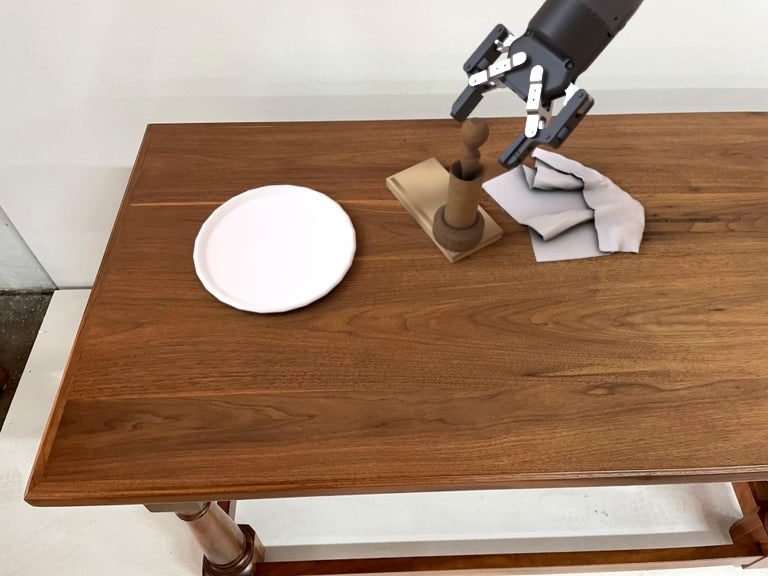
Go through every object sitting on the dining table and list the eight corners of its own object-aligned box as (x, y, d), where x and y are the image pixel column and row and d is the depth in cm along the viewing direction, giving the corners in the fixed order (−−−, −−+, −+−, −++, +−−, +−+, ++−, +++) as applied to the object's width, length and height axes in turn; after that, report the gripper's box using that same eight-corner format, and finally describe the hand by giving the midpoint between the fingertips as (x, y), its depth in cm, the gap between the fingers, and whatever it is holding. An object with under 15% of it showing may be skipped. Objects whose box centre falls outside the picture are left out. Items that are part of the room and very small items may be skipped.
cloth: (659, 264, 77) (666, 252, 75) (487, 261, 77) (490, 249, 75) (626, 152, 88) (632, 139, 86) (476, 150, 88) (479, 137, 86)
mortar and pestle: (421, 229, 78) (432, 118, 63) (456, 205, 80) (475, 93, 65) (457, 261, 75) (478, 152, 60) (493, 234, 77) (521, 124, 63)
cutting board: (501, 237, 79) (503, 230, 78) (451, 263, 77) (453, 256, 75) (433, 164, 87) (433, 156, 85) (385, 185, 84) (385, 177, 83)
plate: (197, 330, 71) (194, 325, 70) (193, 201, 83) (191, 195, 82) (369, 301, 73) (369, 295, 72) (343, 180, 85) (342, 173, 84)
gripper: (525, -43, 59) (422, 94, 65) (630, 29, 52) (504, 174, 58) (553, -7, 65) (457, 115, 71) (651, 62, 58) (535, 190, 64)
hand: (478, 142), depth 65 cm, fingers open, 8 cm apart
